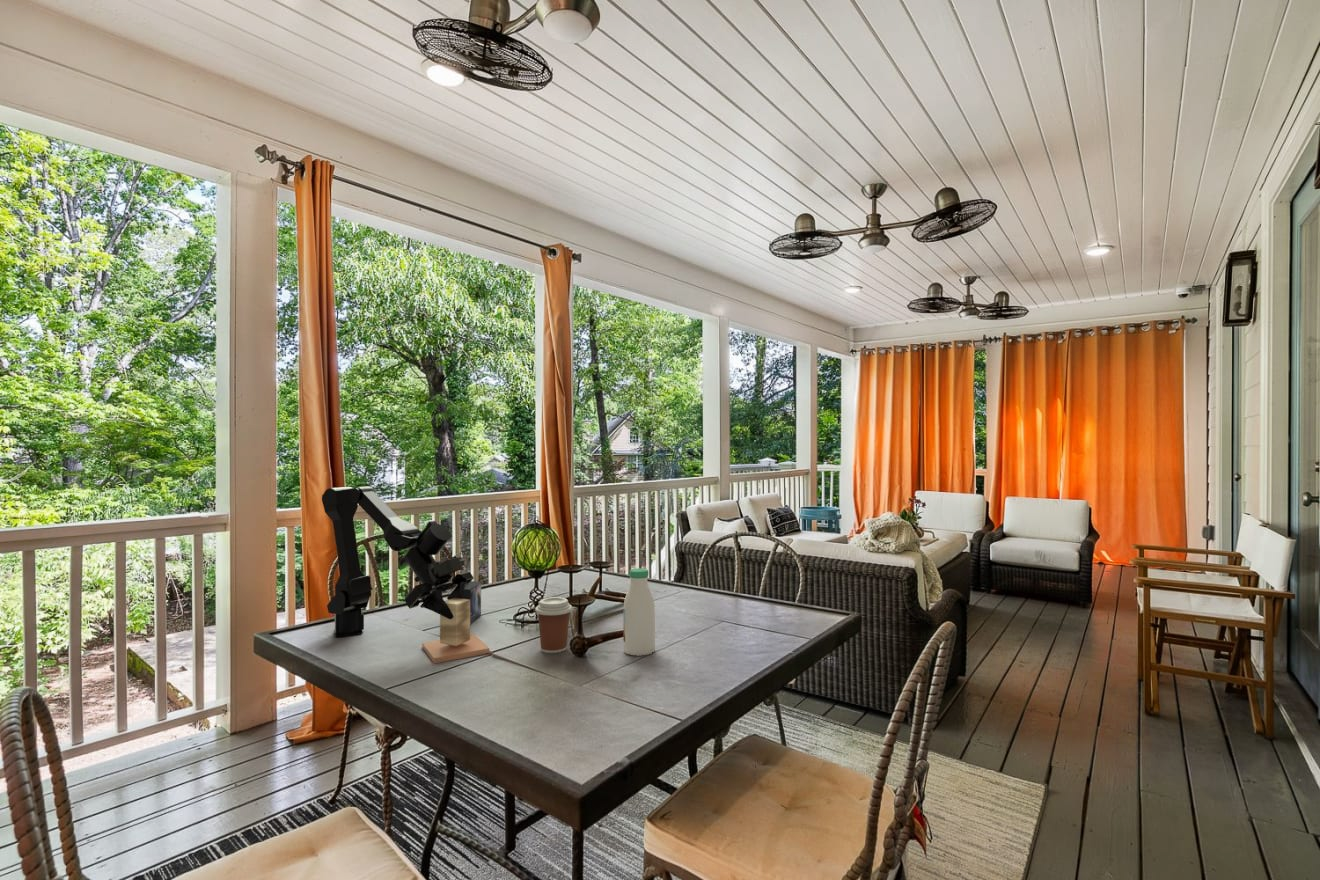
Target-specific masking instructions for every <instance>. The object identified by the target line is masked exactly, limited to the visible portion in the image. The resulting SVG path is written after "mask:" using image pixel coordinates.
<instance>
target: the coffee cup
mask: <svg viewBox="0 0 1320 880" xmlns="http://www.w3.org/2000/svg"><path fill="white" fill-rule="evenodd" d="M534 609H535V614H537V617H538V630H539V639H540V640H539V641H540V651H541V652H543V653H546V654H558V653H557V652H559V653H562V652H561V651H563V652H564V650H565V651H566V650H567V649H568V635H569V623H570V613H571V612H572V611H573V606H572V605H571V604H570V603H569V600H568V599H567V598H565V597H560V596H559V597H558V596H553V597H551V596H550V597H546V598H542V599H541V600H539V604H538V605H537V606H535V608H534ZM566 648H567V649H566Z"/></svg>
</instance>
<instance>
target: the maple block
mask: <svg viewBox="0 0 1320 880" xmlns="http://www.w3.org/2000/svg"><path fill="white" fill-rule="evenodd" d="M444 601H445V603H446V604H447V606H448V607H449V609H450V611H451V612H452V614H453V618H452V619H448V618H446V617H444V616H442V615H440V614H439V640H440V643H441V644H447V645H453V646H457V645H460V644H462V643H464V642H467V641H469V640H470V635H471V624H470V600H468V599H460V598H452V599H449V600H448V599H446V600H444Z"/></svg>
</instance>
